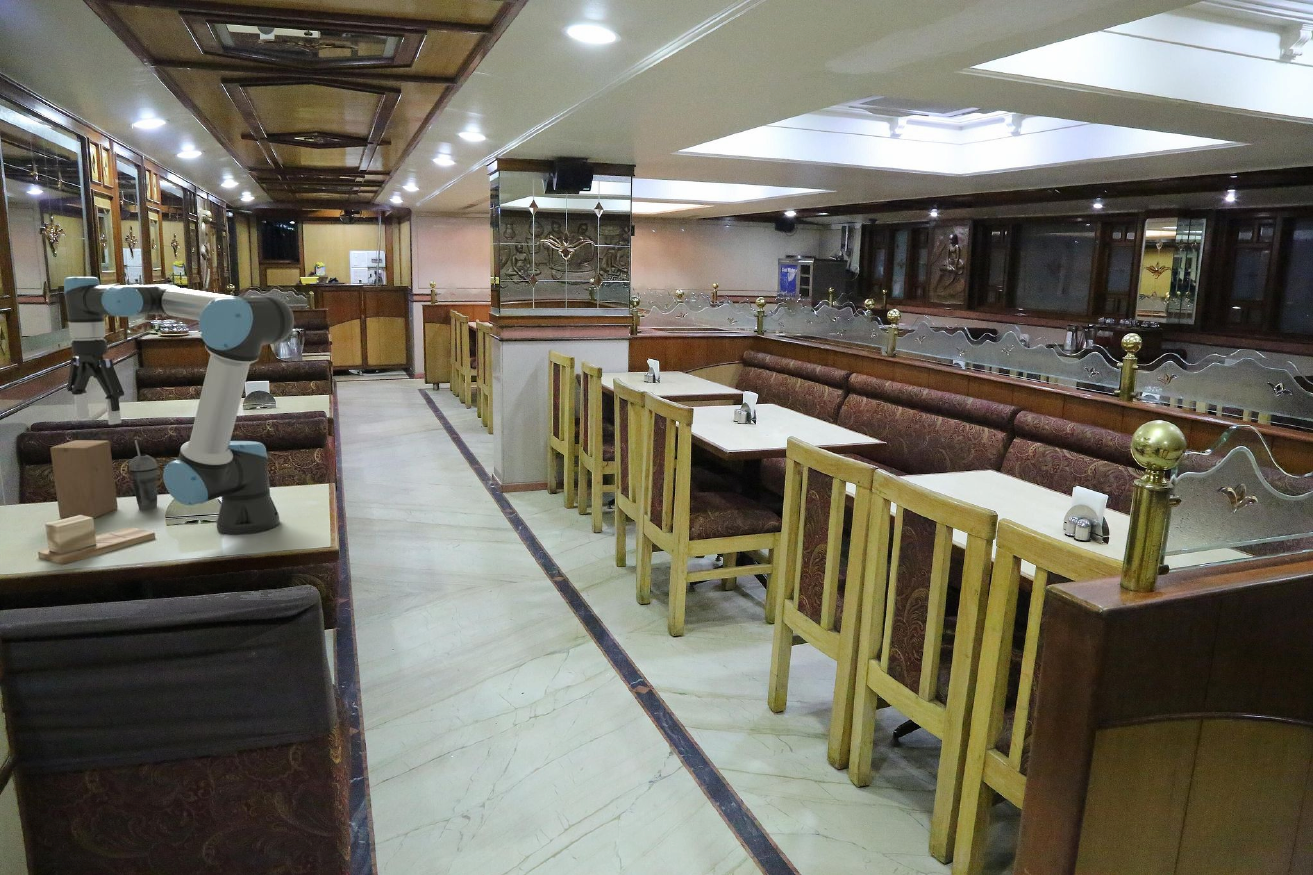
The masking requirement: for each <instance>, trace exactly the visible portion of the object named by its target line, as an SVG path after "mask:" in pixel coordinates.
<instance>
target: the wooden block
mask: <svg viewBox="0 0 1313 875" xmlns="http://www.w3.org/2000/svg"><path fill="white" fill-rule="evenodd" d="M49 450H50V455H51V463H52V469H53V477H54V486H55V491H56V492H55V493H56V499H57V507H58V513H59V518H60V519H66V518H70V517H74V516H78V515H83V516H87V517H92V518H93V519H97V518H99V517H101V516H103V515H104V516H105V515H106V514H108V513H110V512H114V511H116V510H118V506H119V505H118V501H117V500H118V499H117V491H116V485H115V484H116V482H115V476H114V468H113V458H112V451H111V442H110V441H109V440H93V439H92V440H91V439H90V440H86V439H84V440H83V439H82V440H81V439H80V440H79V439H76V440H72V441H68V442H65V443H61V444H58V445H55V446H54V445H53V446H52V447H50V449H49Z"/></svg>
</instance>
